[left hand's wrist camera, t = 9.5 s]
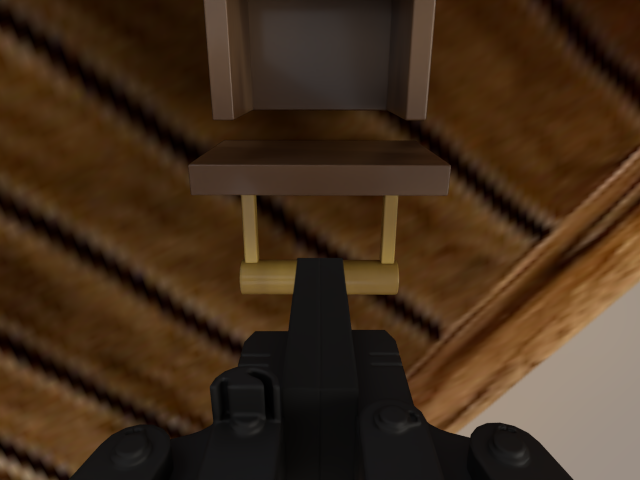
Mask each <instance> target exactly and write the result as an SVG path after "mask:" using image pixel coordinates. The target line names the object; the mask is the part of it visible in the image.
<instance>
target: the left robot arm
mask: <svg viewBox="0 0 640 480" xmlns="http://www.w3.org/2000/svg"><path fill="white" fill-rule="evenodd" d="M210 394H211V403H212V413H213V424H212V425H211V426H209V427H207V428H205V429H203V430H202V431H199V432H196V433H193V434H190V435H186V436H182V437H178V438H174V439H170V437H169V435H168V434H167V433H166V432H165V430H164V429H162V428H160V427H157V426H155V425H136V426H132V427H128V428H125V429H123V430H121V431H119V432H117V433H115V434H113V435H111V436H110V437H109V438H108V439H107V440H105V441H104V442H103V443H102V444H101V445H100V446H99V447H98V448H97V449H96V450H95V451H94V452H93V454H92V455H91V456H90V457H89V458H88V459H87V460H86V461H85V462H84V464H83V465H82V466H81V467H80V468H79V469H78V470H77V471H76V472H75V473H74V475H73V476H72V477H71V478H70V479H69V480H573V479H572V478H571V476H570V475H569V474H568V473H567V472H566V471H565V470H564V469H563V468H562V467H561V465H560V464H559V463H558V462H557V461H556V460H555V459H554V458H553V457H552V456H551V455H550V453H549V452H548V451H547V450H546V449H545V448H544V447H543V446H542V445H541V444H540V442H538V441H537V440H536V439H535V438H534V437H532V436H531V435H530V434H529V433H527V432H525V431H523V430H521V429H519V428H517V427H515V426H512V425H507V424H503V423H486V424H484V425H481V426H479V427H477V428H476V429H475V430H474V431H473V433H472V434H471V437H470V438H469V437H465V436H461V435H457V434H453V433H449V432H446V431H443V430H440V429H438V428H436V427H434V426H432V425H431V424H429V423H428V422H427V421H426V419H425V417H424V416H423V414H422V412H421V411H420V410H418V409H417V408H416V407H415V406H414V404H413V400H412V397H411V393H410V390H409V386H408V383H407V379H406V376H405V372H404V369H403V366H402V362H401V358H400V356H399V351H398V348H397V344H396V341H395V340H394V339H393V338H392V337H391V336H390V335H389V334H388V333H387V332H386V331H385V330H351V322H350V314H349V306H348V298H347V290H346V282H345V274H344V265H343V258H297V265H296V274H295V282H294V290H293V298H292V306H291V314H290V322H289V330H288V331H255V332H254V333H253V334H252V335H251V336H250V337H249V338H248V339H247V340H246V341H245V342H244V346H243V349H242V353H241V357H240V360H239V364H238V367H236V368H233V369H230V370H227V371H225V372H223V373H222V374H221V375H219V376H218V377H216V378H215V380H214V381H213V383H212V384H211V386H210Z"/></svg>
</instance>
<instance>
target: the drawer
mask: <svg viewBox="0 0 640 480" xmlns="http://www.w3.org/2000/svg"><path fill="white" fill-rule="evenodd" d="M203 1H204V13H205V26H206V39H207V51H208V64H209V77H210V89H211V102H212V115H213V120H234V119H236V118H238V117H240V116H242V115H244V114H246V113H248V112H249V111H251V110H388V111H390V112H392V113H394V114H396V115H398V116H399V117H401V118H403V119H405V120H423V121H424V120H426V115H427V103H428V91H429V79H430V67H431V55H432V43H433V31H434V19H435V7H436V0H203ZM188 170H189V179H190V189H191V195H241V207H242V223H243V240H244V256H245V260H242V262H241V266H240V290H241V293H242V294H293V290H294V282H295V274H296V265H297V260H259V246H258V226H257V206H256V195H383V205H382V224H381V242H380V260H343V265H344V274H345V282H346V290H347V294H397V292H398V288H399V269H398V263H397V261H396V260H394V254H395V238H396V223H397V208H398V195H400V196H447V195H448V189H449V179H450V170H451V165H449V164H448V163H446V162H445V161H444V160H442V159H441V158H439V157H438V156H436V155H435V154H434V153H432V152H431V151H429V150H428V149H426V148H425V147H424V146H422V145H421V144H419V143H418V142H416V141H322V140H224V141H222V142H221V143H219V144H218V145H216V146H215V147H214V148H212V149H211V150H209V151H208V152H206V153H205V154H203V155H202V156H200V157H199V158H197V159H196V160H195V161H193V162H192V163H190V164H189V165H188Z"/></svg>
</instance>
